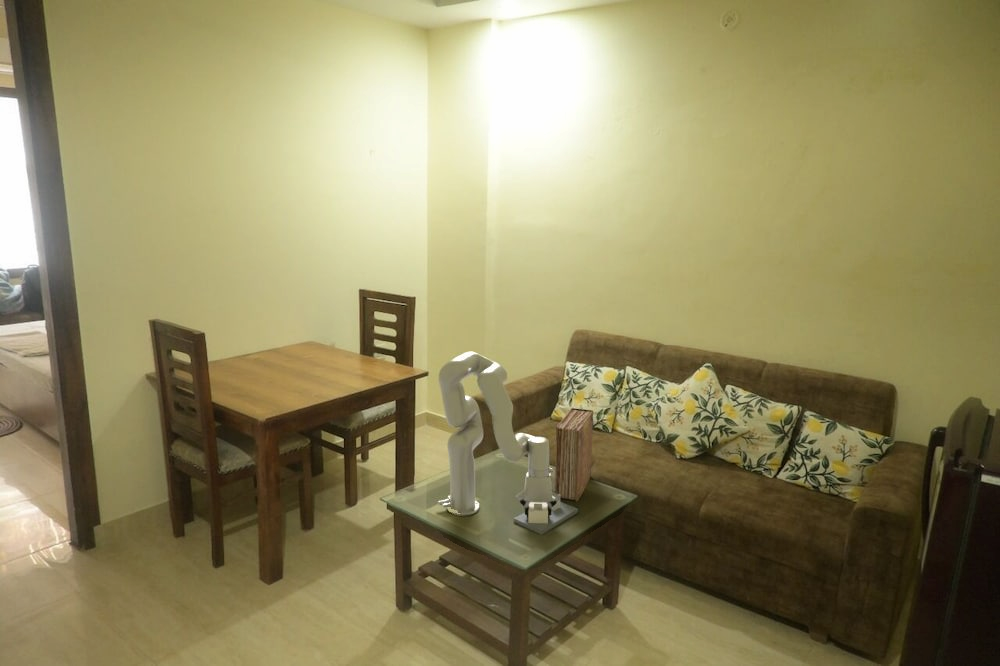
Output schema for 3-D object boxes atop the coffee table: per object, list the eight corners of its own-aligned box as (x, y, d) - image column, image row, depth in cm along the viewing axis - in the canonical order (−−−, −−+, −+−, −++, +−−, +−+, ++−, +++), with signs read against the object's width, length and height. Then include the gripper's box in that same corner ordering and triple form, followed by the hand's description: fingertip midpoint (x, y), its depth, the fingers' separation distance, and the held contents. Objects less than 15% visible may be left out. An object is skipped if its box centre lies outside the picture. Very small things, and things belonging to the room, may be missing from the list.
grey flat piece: (541, 534, 218) (541, 517, 216) (513, 522, 226) (513, 505, 225) (577, 512, 233) (578, 496, 232) (550, 501, 242) (551, 486, 241)
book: (577, 502, 241) (579, 430, 235) (554, 498, 244) (555, 427, 238) (591, 476, 264) (593, 410, 258) (570, 473, 268) (571, 407, 262)
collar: (547, 523, 222) (548, 511, 221) (528, 522, 223) (528, 511, 222) (547, 513, 229) (547, 502, 228) (528, 513, 229) (528, 502, 229)
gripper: (562, 467, 225) (561, 512, 229) (514, 466, 226) (514, 511, 230) (563, 476, 218) (562, 522, 222) (514, 475, 219) (514, 521, 222)
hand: (538, 516), depth 226 cm, fingers closed on collar, 7 cm apart
